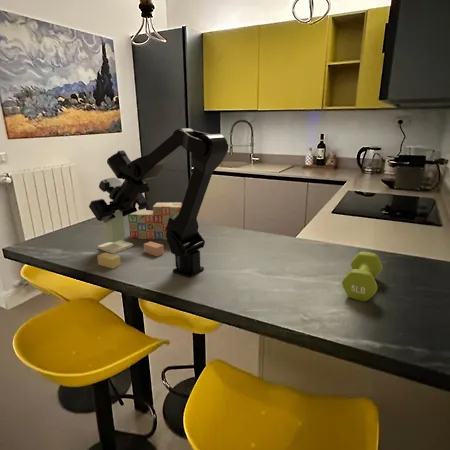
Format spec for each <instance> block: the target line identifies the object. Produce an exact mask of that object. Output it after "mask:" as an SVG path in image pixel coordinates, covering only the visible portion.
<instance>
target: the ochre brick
mask: <svg viewBox="0 0 450 450" xmlns="http://www.w3.org/2000/svg"><path fill="white" fill-rule="evenodd" d="M96 258H97V262H98V263H97V264H98V265H99V266H103V267H106V268H110V269H113V270H114V269H115V268H117V267H119V266H121V265H122V263H121V262H122V261H121V256H120V255H119V254H118V255H117V254H115V253H114V254H112V253H110V252H107V251H104V252H103V253H100V254H99V255H97V257H96Z"/></svg>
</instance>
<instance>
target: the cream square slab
mask: <svg viewBox="0 0 450 450" xmlns="http://www.w3.org/2000/svg"><path fill="white" fill-rule="evenodd" d="M132 246H133V247H134V243H132V242H129V241H125V240H124V239H123V240H121V241H118V242H115V243H113V242H109V241H107V242H104V243H102V244H99V245H97V248H98V250H101V251H104V252H106V253H110V254H114V255H115V254H116V253H119V252H121V251H122V252H123V251H125V250H128V249H130V248H133V247H132ZM127 248H128V249H127Z"/></svg>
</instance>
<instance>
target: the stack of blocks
mask: <svg viewBox="0 0 450 450" xmlns="http://www.w3.org/2000/svg"><path fill="white" fill-rule="evenodd" d="M182 203H183V202H177V201H176V202H156V203H154V205H153V206H152V210H148V209H142V210H139V209H137V212H134V213H131V214H129V215H127V219H128V227H129V238H130V239H134V238H138V239H139V238H140V239H139V240H167V238H166V232H167V230H165V229H166V228H167V225H168V220H169V218H170V217H173V216H176V215H178V214H179V212H180V209H181V206H182Z"/></svg>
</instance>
